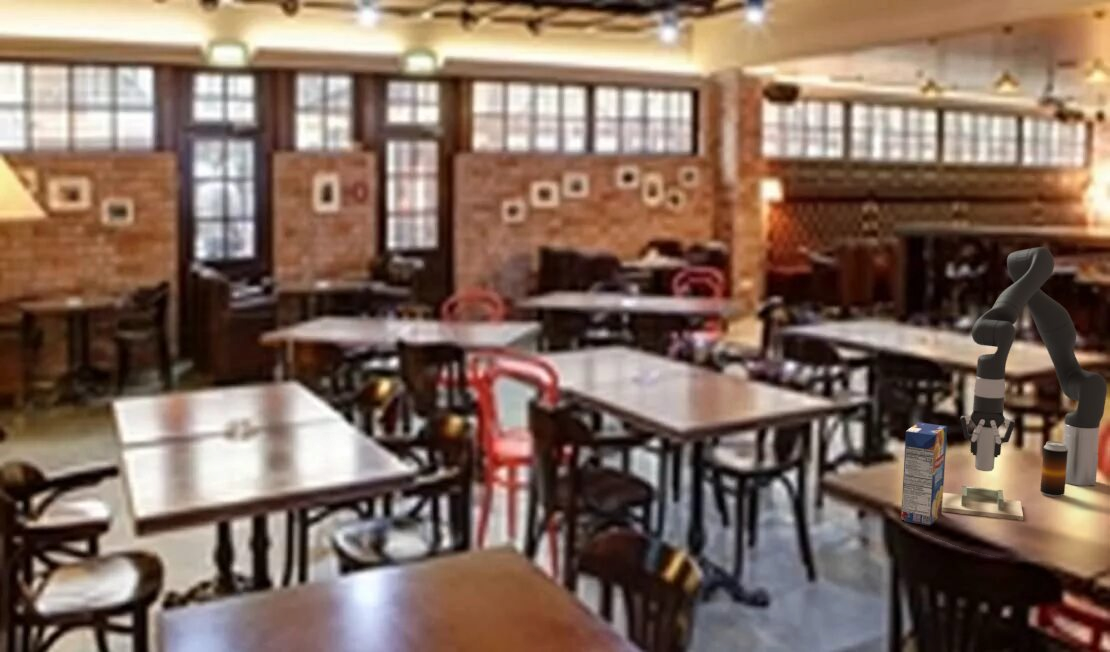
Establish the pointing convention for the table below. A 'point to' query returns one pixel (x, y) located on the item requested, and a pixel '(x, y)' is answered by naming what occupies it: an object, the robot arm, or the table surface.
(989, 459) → the white cylinder
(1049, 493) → the beverage can
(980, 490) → the rest
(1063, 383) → the robot arm
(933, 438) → the juice carton
